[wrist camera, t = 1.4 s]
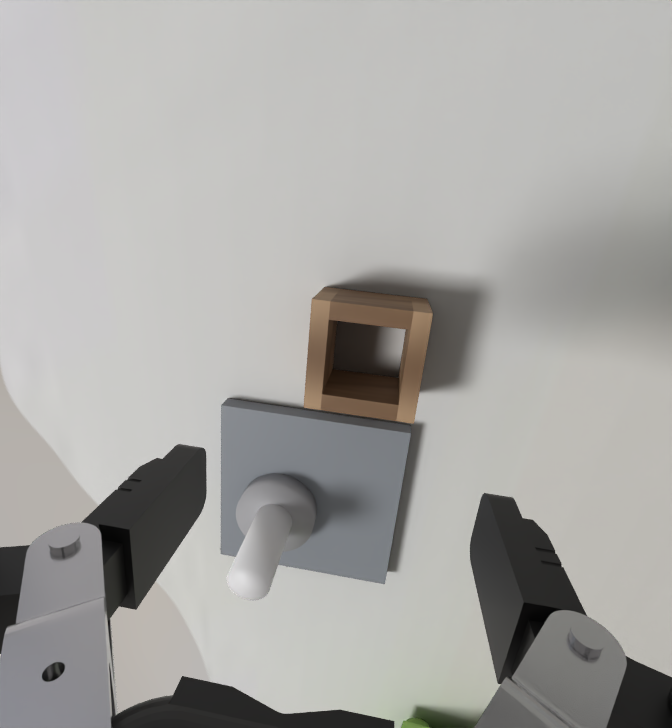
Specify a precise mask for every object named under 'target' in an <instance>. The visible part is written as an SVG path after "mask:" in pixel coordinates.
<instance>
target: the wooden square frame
mask: <svg viewBox="0 0 672 728" xmlns="http://www.w3.org/2000/svg"><path fill="white" fill-rule="evenodd" d="M432 317H433V312H432V310H431V307H430V305H429V302H428V300H427V299H424V298H416V297H407V296H399V295H390V294H382V293H373V292H365V291H356V290H348V289H339V288H331V287H324V288H323V289H322V290H321V291H320V292H319V293H318V294H317V295H316V296H315V297H314V298H312V304H311V317H310V330H309V343H308V357H307V370H306V383H305V396H304V408H310V409H317V410H324V411H330V412H337V413H344V414H351V415H358V416H365V417H371V418H378V419H385V420H392V421H399V422H406V423H412V424H414V420H415V414H416V408H417V402H418V397H419V391H420V385H421V380H422V374H423V368H424V362H425V357H426V351H427V345H428V340H429V334H430V328H431V323H432ZM337 321H344V322H352V323H360V324H368V325H376V326H384V327H392V328H400V329H406V332H405V338H404V345H403V351H402V358H401V364H400V370H399V377H398V378H396V377H388V376H381V375H374V374H366V373H359V372H352V371H344V370H337V369H333V362H334V351H335V341H336V331H337Z"/></svg>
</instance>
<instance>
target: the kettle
mask: <svg viewBox="0 0 672 728" xmlns="http://www.w3.org/2000/svg"><path fill="white" fill-rule="evenodd" d="M401 728H430V727H429V725H428V724H427V723H426V722H425V721H424V720H422V719H419V718H410V719H408V720H406V721H403V724H402V727H401Z"/></svg>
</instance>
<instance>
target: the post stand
mask: <svg viewBox="0 0 672 728" xmlns="http://www.w3.org/2000/svg"><path fill="white" fill-rule="evenodd" d="M410 436H411V426H410V425H406V424H399V423H392V422H386V421H379V420H372V419H365V418H358V417H352V416H345V415H338V414H331V413H324V412H317V411H311V410H304V409H297V408H290V407H283V406H277V405H270V404H263V403H256V402H249V401H242V400H236V399H229V398H228V399H227V400H226V401H225V402H224V403H223V404H222V405H221V554H223V555H229V556H234V557H236V558H235V560H234V562H233V564H232V566H231V568H230V570H229V572H228V574H227V584H228V586H229V588H230V589H231V591H232V592H233V593H234V594H236V595H237V596H239V597H241V598H243V599H246V600H259V599H262V598H264V597H265V596H266V595H267V594H268V592H269V590H270V587H271V584H272V581H273V578H274V575H275V572H276V569H277V566H278V565H283V566H289V567H294V568H300V569H305V570H310V571H316V572H321V573H327V574H332V575H338V576H343V577H348V578H354V579H359V580H365V581H370V582H376V583H381V584H385V580H386V574H387V568H388V563H389V557H390V551H391V545H392V540H393V534H394V528H395V522H396V517H397V511H398V505H399V499H400V494H401V488H402V482H403V476H404V471H405V465H406V459H407V454H408V448H409V442H410Z"/></svg>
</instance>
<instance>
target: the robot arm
mask: <svg viewBox="0 0 672 728" xmlns="http://www.w3.org/2000/svg"><path fill="white" fill-rule="evenodd" d="M205 499H206V452H205V449H204V448H200V447H194V446H188V445H181V444H178V445H176V446H175V447H174V448H173V449H172V450H171V451H170V452H169V453H168V454H167V455H166V456H165V457H164V458H163V459H159V458H156V459H154V460H152V461H150V462H148V463H146V464H144V465H142V466H140V467H139V468H138V469H137V470H136V471H135V472H134V473H133V474H132V475H131V476H130V477H128V480H125V481H124V482H123V483H122V484H121V485H120V486H119V487H118V490H115V491H114V492H113V493H112V494H111V495H110V496H109V497H107V498H106V499H105V500H104V501H103V502H102V503H101V504H100V505H99V506H98V507H97V508H96V509H95V510H94V511H93V512H92V513H91V514H90V515H89V516H88V517H87V518H86V519H84V520H83V521H82V522H81V523H70V524H65V525H61V526H58V527H56V528H53V529H51V530H49V531H47V532H45V533H43V534H42V535H41V536H39V537H38V538H37V539H36V540H34V541H33V542H32V544H31V545H28V546H16V547H1V548H0V654H1V657H0V728H394V721H391V720H386V719H381V718H376V717H372V716H367V715H362V714H358V713H353V712H348V711H344V710H331V711H318V712H306V713H293V714H282V713H279V712H277V711H275V710H273V709H271V708H269V707H268V706H266V705H264V704H262V703H260V702H259V701H257V700H255V699H253V698H252V697H250V696H248V695H246V694H244V693H243V692H241V691H239V690H237V689H235V688H234V687H231V686H226V685H222V684H217V683H212V682H208V681H203V680H198V679H193V678H188V677H184V676H182V678H181V680H180V682H179V684H178V686H177V688H176V690H175V693H174V695H173V696H164V697H160V698H155V699H151V700H148V701H145V702H142V703H139V704H137V705H134V706H132V707H130V708H128V709H126V710H124V711H122V712H121V713H119V714H118V711H117V701H116V687H115V673H114V659H113V645H112V631H111V620H110V618H111V616H112V615H113V613H114V612H115V611H116V609H117V608H118V607H119V606H121V607H126V608H130V609H137V608H138V606H139V605H140V603H141V602H142V600H143V599H144V597H145V596H146V594H147V593H148V591H149V590H150V588H151V587H152V585H153V584H154V582H155V581H156V579H157V578H158V576H159V575H160V573H161V572H162V570H163V569H164V567H165V566H166V564H167V563H168V561H169V560H170V558H171V557H172V556H173V554H174V553H175V551H176V550H177V548H178V547H179V545H180V544H181V542H182V541H183V539H184V538H185V536H186V535H187V533H188V532H189V530H190V529H191V527H192V526H193V524H194V523H195V521H196V520H197V518H198V517H199V515H200V514H201V512H202V509H203V507H204V504H205ZM470 560H471V566H472V570H473V575H474V579H475V584H476V588H477V593H478V597H479V602H480V606H481V610H482V615H483V619H484V624H485V628H486V633H487V637H488V642H489V646H490V651H491V655H492V660H493V664H494V669H495V673H496V678H497V682H498V684H501V685H500V687H499V688H498V690H497V692H496V693H495V695H494V696H493V698H492V700H491V701H490V703H489V705H488V706H487V708H486V709H485V711H484V713H483V714H482V716H481V718H480V719H479V721H478V722H477V724H476V726H475V727H474V728H672V677H670V676H667V675H665V674H663V673H661V672H658V671H656V670H654V669H652V668H649V667H647V666H645V665H643V664H640V663H638V662H636V661H634V660H632V659H630V658H628V657H627V656H625V653H624V651H623V649H622V647H621V645H620V644H619V642H618V641H617V640H616V639H615V637H614V636H613V635H612V634H611V633H610V632H609V631H608V630H607V629H606V628H604V627H603V626H602V625H601V624H599V623H598V622H596V621H595V620H593V619H591V618H590V617H588V616H587V615H586V613H585V611H584V609H583V607H582V605H581V603H580V601H579V599H578V597H577V595H576V593H575V591H574V588H573V586H572V584H571V582H570V580H569V578H568V576H567V574H566V572H565V570H564V568H563V567H561V562H560V560H559V558H558V556H557V554H555V550H554V548H553V545H552V543H551V541H550V539H549V537H548V535H547V534H546V533H545V532H544V531H543V530H542V529H541V528H540V527H539V526H538V525H537V524H536V523H535V522H534V521H533V520H530V519H524V518H522V516H521V514H520V511H519V509H518V507H517V504H516V502H515V500H514V499H513V498H512V497H506V496H499V495H493V494H487V493H484V494H483V495H482V498H481V501H480V505H479V509H478V513H477V517H476V521H475V525H474V529H473V533H472V537H471V543H470Z"/></svg>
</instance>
